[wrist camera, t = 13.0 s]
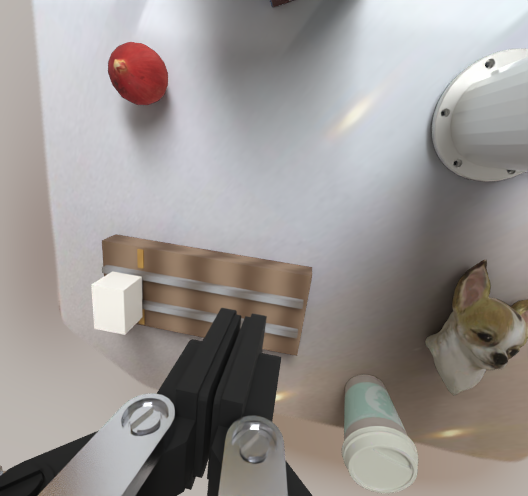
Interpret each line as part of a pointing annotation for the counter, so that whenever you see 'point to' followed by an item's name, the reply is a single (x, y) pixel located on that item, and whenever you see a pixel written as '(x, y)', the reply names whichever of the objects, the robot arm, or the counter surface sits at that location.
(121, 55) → the onion
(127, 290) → the white block
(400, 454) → the coffee cup
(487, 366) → the ceramic sculpture
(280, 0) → the protein box
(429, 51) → the counter surface
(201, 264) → the linear slide rail
